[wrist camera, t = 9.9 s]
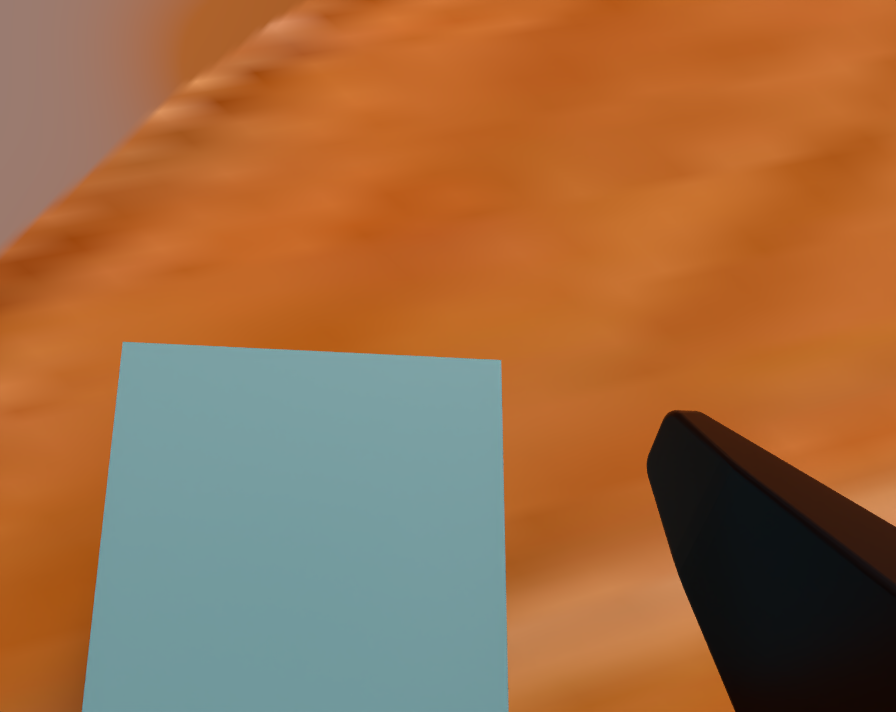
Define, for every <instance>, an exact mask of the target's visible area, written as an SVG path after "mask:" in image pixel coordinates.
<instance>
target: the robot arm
mask: <svg viewBox="0 0 896 712" xmlns="http://www.w3.org/2000/svg"><path fill="white" fill-rule="evenodd" d="M647 474H648V478H649V481H650V484H651V488H652V491H653V494H654V498H655V501H656V504H657V508H658V511H659V514H660V518H661V521H662V524H663V528H664V531H665V534H666V537H667V541H668V544H669V547H670V551H671V554H672V557H673V560H674V563H675V566H676V569H677V572H678V575H679V578H680V580H681V583H682V585H683V588H684V590H685V593H686V595H687V598H688V600H689V602H690V605H691V607H692V610H693V612H694V614H695V617H696V619H697V622H698V624H699V626H700V629H701V631H702V633H703V636H704V638H705V641H706V643H707V645H708V648H709V650H710V653H711V655H712V657H713V660H714V662H715V665H716V667H717V669H718V672H719V674H720V676H721V679H722V681H723V684H724V686H725V688H726V691H727V693H728V696H729V698H730V700H731V703H732V705H733V708H734V710H735V712H896V527H895V526H893V525H892V524H890V523H888V522H886V521H885V520H883V519H881V518H880V517H878V516H876V515H875V514H873V513H871V512H870V511H868V510H866V509H864V508H863V507H861V506H859V505H858V504H856V503H854V502H853V501H851V500H849V499H848V498H846V497H844V496H842V495H841V494H839V493H837V492H836V491H834V490H832V489H831V488H829V487H827V486H825V485H824V484H822V483H820V482H819V481H817V480H815V479H814V478H812V477H810V476H809V475H807V474H805V473H803V472H802V471H800V470H798V469H797V468H795V467H793V466H792V465H790V464H788V463H787V462H785V461H783V460H781V459H780V458H778V457H776V456H775V455H773V454H771V453H770V452H768V451H766V450H764V449H763V448H761V447H759V446H758V445H756V444H754V443H753V442H751V441H749V440H748V439H746V438H744V437H742V436H741V435H739V434H737V433H736V432H734V431H732V430H731V429H729V428H727V427H725V426H724V425H722V424H720V423H719V422H717V421H715V420H714V419H712V418H710V417H709V416H707V415H705V414H703V413H701V412H698V411H681V410H674V411H671V412H669V413H668V414H667V415H666V416H665V417H664V419H663V421H662V424H661V426H660V429H659V431H658V433H657V436H656V438H655V440H654V443H653V445H652V448H651V450H650V452H649V455H648V459H647Z"/></svg>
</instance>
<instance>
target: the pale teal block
mask: <svg viewBox="0 0 896 712" xmlns="http://www.w3.org/2000/svg"><path fill="white" fill-rule="evenodd" d="M82 712H508V667H507V620H506V572H505V525H504V477H503V430H502V382H501V360H487V359H466V358H445V357H425V356H404V355H383V354H363V353H342V352H321V351H300V350H280V349H259V348H238V347H218V346H197V345H176V344H155V343H135V342H123V346H122V355H121V364H120V373H119V382H118V391H117V400H116V409H115V418H114V427H113V436H112V445H111V454H110V463H109V472H108V481H107V490H106V499H105V508H104V517H103V526H102V535H101V544H100V553H99V562H98V571H97V580H96V589H95V598H94V607H93V616H92V625H91V634H90V643H89V652H88V661H87V670H86V679H85V689H84V698H83V707H82Z"/></svg>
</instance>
